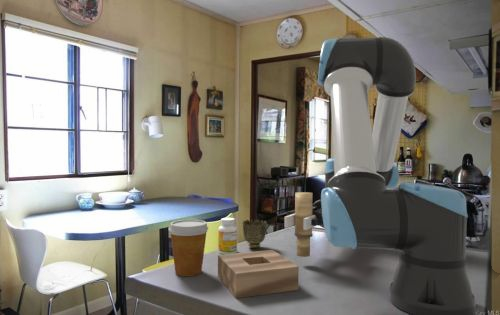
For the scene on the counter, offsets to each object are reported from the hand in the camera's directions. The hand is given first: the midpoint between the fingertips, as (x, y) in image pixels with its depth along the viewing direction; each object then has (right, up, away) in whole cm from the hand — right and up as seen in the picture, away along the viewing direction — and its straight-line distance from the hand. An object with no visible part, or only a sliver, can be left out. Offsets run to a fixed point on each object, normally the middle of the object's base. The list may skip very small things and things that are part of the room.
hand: (295, 223), depth 93 cm
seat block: (-10, -12, -8) cm, 17 cm away
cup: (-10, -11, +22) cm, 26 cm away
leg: (+3, -9, +5) cm, 10 cm away
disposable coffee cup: (-26, -12, -1) cm, 29 cm away
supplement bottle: (-18, -11, +17) cm, 27 cm away
